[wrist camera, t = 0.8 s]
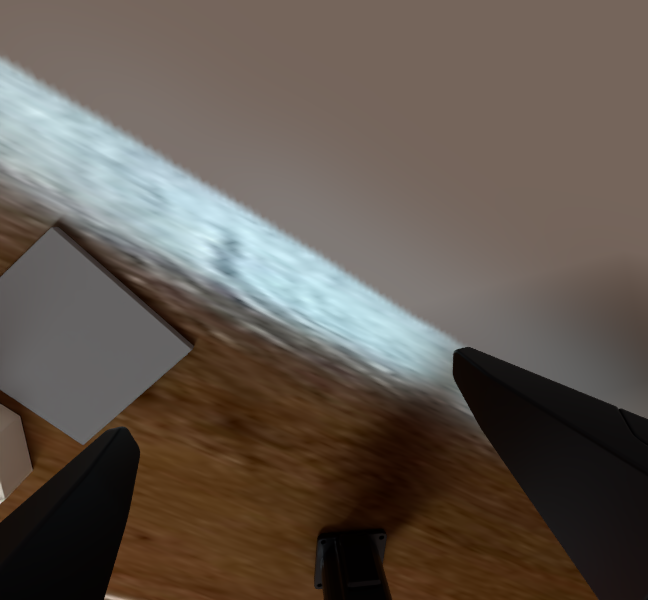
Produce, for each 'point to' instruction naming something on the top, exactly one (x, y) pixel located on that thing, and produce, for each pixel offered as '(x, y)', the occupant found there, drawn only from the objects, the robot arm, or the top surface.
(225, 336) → the top surface
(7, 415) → the ring holder
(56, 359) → the mat
